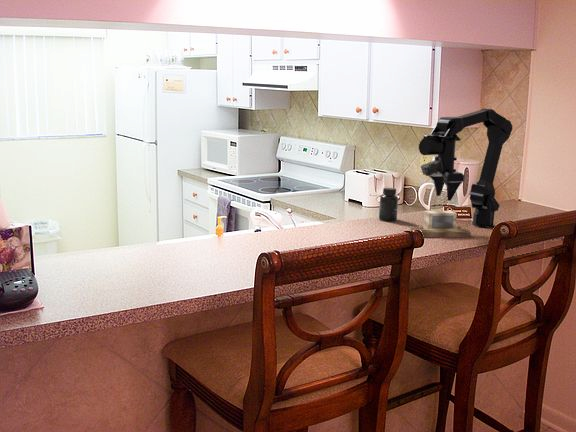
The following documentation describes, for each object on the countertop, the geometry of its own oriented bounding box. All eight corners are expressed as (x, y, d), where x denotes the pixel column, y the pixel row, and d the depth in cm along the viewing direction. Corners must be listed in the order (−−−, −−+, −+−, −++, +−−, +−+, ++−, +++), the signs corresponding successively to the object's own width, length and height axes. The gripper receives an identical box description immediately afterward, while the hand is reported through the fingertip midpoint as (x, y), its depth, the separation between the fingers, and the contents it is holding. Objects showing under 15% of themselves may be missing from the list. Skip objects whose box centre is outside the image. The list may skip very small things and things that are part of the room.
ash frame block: (450, 227, 239) (451, 210, 238) (455, 230, 234) (457, 213, 233) (423, 227, 237) (424, 210, 236) (428, 230, 233) (429, 213, 231)
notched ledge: (458, 230, 242) (458, 223, 241) (470, 236, 232) (470, 229, 232) (410, 230, 239) (410, 223, 238) (420, 237, 229) (420, 230, 229)
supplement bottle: (398, 221, 253) (400, 190, 251) (379, 221, 253) (381, 189, 251) (395, 218, 260) (397, 187, 258) (377, 217, 260) (379, 186, 258)
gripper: (414, 151, 243) (412, 194, 246) (435, 157, 225) (432, 203, 228) (443, 150, 245) (441, 193, 248) (466, 157, 227) (463, 202, 230)
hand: (443, 198), depth 238 cm, fingers open, 9 cm apart
